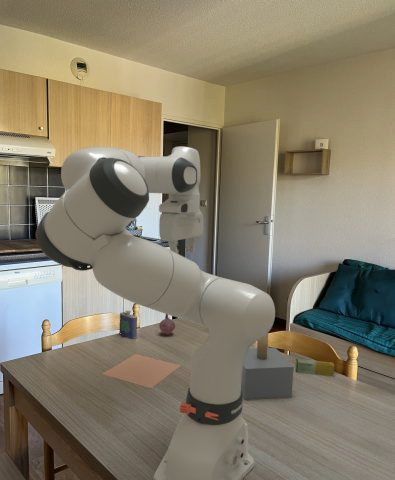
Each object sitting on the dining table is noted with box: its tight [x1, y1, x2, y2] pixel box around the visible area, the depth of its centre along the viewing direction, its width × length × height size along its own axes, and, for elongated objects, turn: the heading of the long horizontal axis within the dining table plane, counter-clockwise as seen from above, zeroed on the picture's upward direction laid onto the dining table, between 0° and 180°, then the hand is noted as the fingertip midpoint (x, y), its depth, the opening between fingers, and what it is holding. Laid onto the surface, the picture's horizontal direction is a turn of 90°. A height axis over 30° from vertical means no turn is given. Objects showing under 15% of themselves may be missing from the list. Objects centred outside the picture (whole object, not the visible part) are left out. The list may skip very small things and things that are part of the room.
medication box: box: [294, 358, 335, 377], centre depth 128 cm, size 12×3×4 cm, turn 81°
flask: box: [119, 310, 138, 340], centre depth 154 cm, size 9×3×11 cm, turn 50°
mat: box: [102, 353, 182, 389], centre depth 125 cm, size 18×18×1 cm
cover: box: [241, 332, 295, 401], centre depth 117 cm, size 14×14×17 cm
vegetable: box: [158, 314, 176, 336], centre depth 158 cm, size 6×6×10 cm
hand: (182, 254), depth 113 cm, fingers open, 8 cm apart
